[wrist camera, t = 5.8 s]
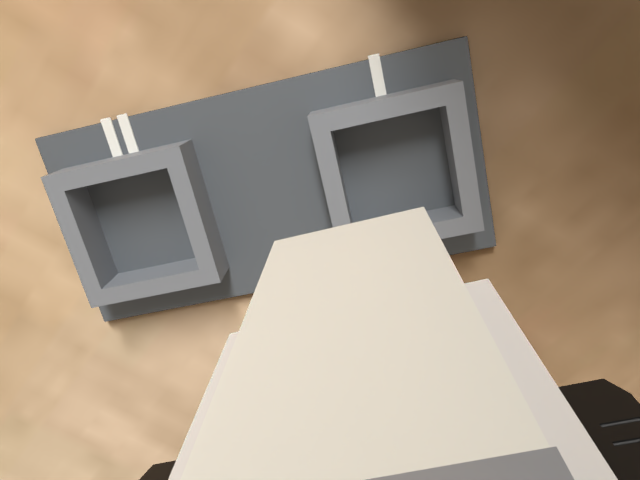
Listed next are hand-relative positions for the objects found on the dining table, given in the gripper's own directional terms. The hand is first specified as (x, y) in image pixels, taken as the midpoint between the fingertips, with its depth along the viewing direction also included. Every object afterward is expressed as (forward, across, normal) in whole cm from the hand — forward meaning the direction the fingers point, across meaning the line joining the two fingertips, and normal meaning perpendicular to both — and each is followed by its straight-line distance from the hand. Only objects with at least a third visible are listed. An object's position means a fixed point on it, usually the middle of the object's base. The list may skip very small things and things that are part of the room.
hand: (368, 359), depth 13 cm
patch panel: (+21, -5, 0) cm, 22 cm away
